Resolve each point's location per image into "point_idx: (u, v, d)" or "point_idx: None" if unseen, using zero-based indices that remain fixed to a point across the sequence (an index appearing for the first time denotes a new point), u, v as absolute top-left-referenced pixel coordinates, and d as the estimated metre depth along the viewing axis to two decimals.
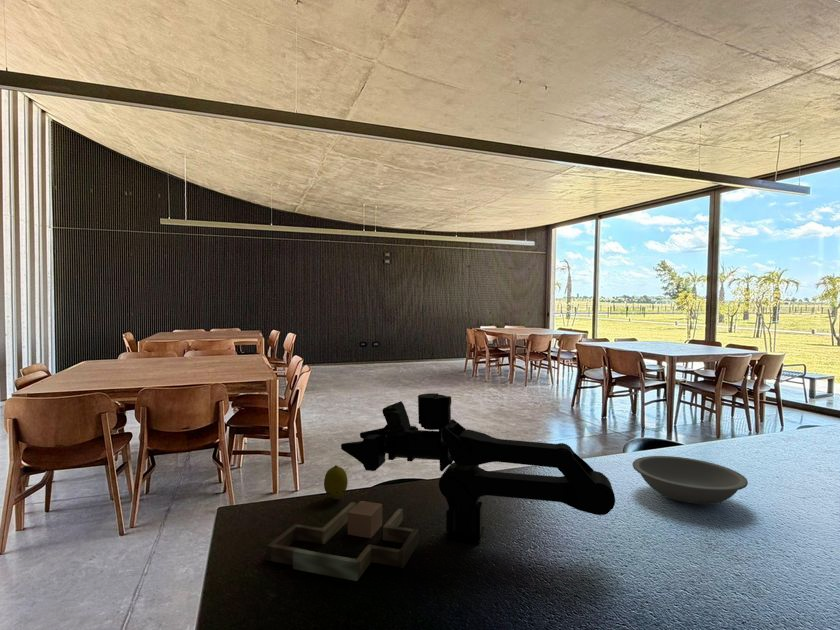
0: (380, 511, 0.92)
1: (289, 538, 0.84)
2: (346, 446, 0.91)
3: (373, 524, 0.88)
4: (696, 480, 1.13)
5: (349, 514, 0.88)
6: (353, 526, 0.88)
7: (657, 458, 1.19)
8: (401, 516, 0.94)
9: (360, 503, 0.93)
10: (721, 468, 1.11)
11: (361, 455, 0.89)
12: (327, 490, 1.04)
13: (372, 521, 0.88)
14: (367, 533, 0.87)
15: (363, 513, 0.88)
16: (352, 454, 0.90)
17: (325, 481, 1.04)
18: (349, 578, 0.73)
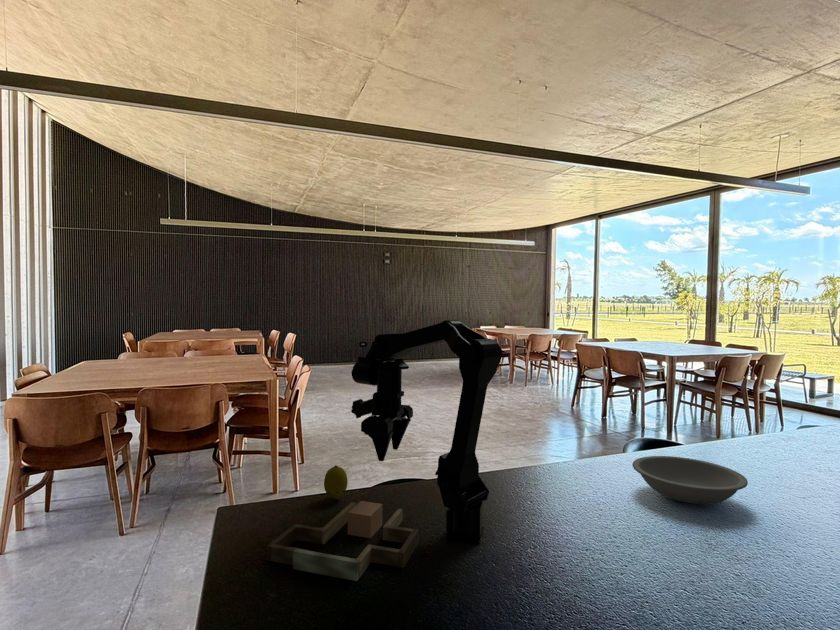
0: (380, 511, 0.92)
1: (289, 538, 0.84)
2: (379, 454, 0.98)
3: (373, 524, 0.88)
4: (696, 480, 1.13)
5: (349, 514, 0.88)
6: (352, 526, 0.88)
7: (657, 458, 1.19)
8: (401, 516, 0.94)
9: (360, 503, 0.93)
10: (721, 468, 1.11)
11: (383, 439, 0.97)
12: (327, 490, 1.04)
13: (372, 521, 0.88)
14: (367, 533, 0.87)
15: (363, 512, 0.88)
16: (384, 449, 0.97)
17: (325, 481, 1.04)
18: (349, 578, 0.73)
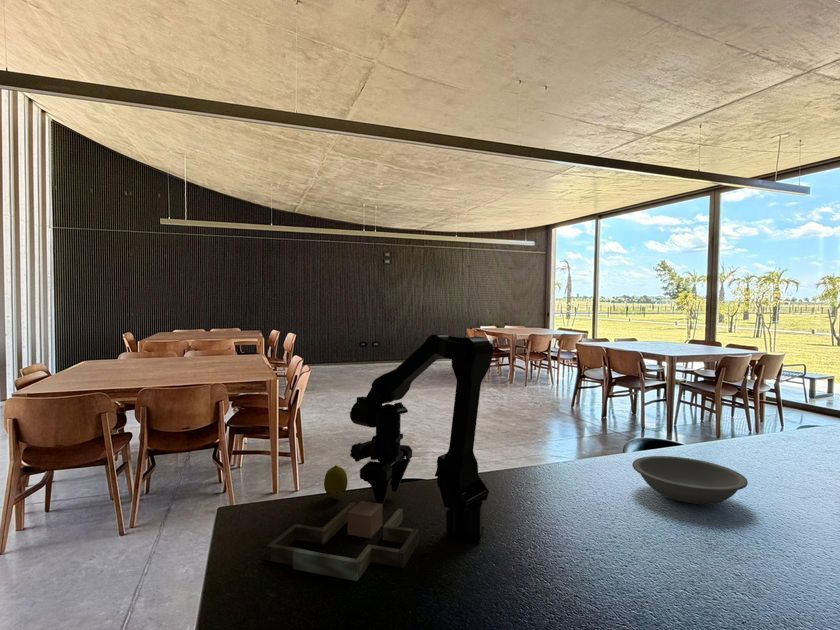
0: (380, 511, 0.92)
1: (289, 538, 0.84)
2: (378, 500, 0.98)
3: (373, 524, 0.88)
4: (695, 480, 1.13)
5: (349, 514, 0.88)
6: (352, 526, 0.88)
7: (657, 458, 1.19)
8: (401, 516, 0.94)
9: (360, 503, 0.93)
10: (721, 468, 1.11)
11: (382, 485, 0.97)
12: (327, 490, 1.04)
13: (372, 521, 0.88)
14: (367, 533, 0.87)
15: (362, 512, 0.88)
16: (383, 495, 0.97)
17: (325, 481, 1.04)
18: (349, 578, 0.73)
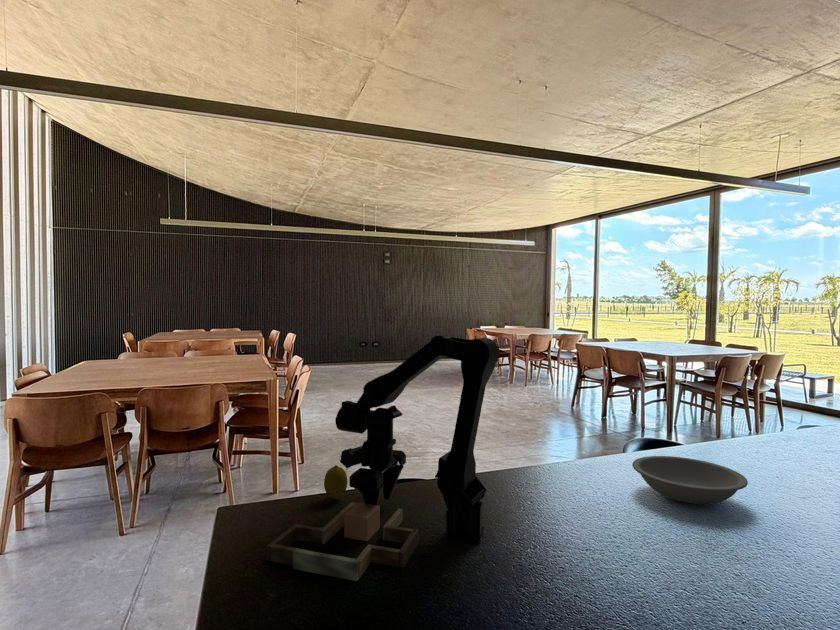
0: (377, 513, 0.90)
1: (289, 538, 0.84)
2: None
3: (370, 526, 0.87)
4: (695, 480, 1.13)
5: (346, 516, 0.87)
6: (349, 528, 0.87)
7: (657, 458, 1.19)
8: (401, 516, 0.94)
9: (357, 505, 0.92)
10: (721, 468, 1.11)
11: (373, 493, 0.92)
12: (327, 490, 1.04)
13: (369, 523, 0.86)
14: (364, 535, 0.86)
15: (359, 514, 0.87)
16: (374, 503, 0.92)
17: (325, 481, 1.04)
18: (349, 578, 0.73)
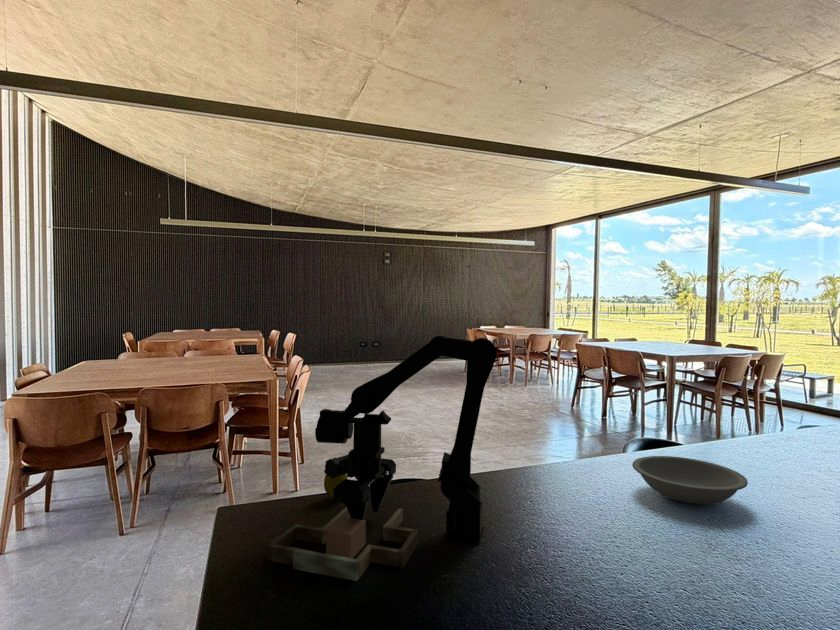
0: (363, 528, 0.84)
1: (289, 538, 0.84)
2: None
3: (354, 544, 0.80)
4: (695, 480, 1.13)
5: (328, 532, 0.80)
6: (331, 545, 0.80)
7: (657, 458, 1.19)
8: (401, 516, 0.94)
9: (341, 519, 0.85)
10: (721, 468, 1.11)
11: (359, 507, 0.85)
12: (327, 490, 1.04)
13: (352, 540, 0.80)
14: (347, 553, 0.79)
15: (343, 531, 0.80)
16: (360, 517, 0.86)
17: (325, 481, 1.04)
18: (349, 578, 0.73)
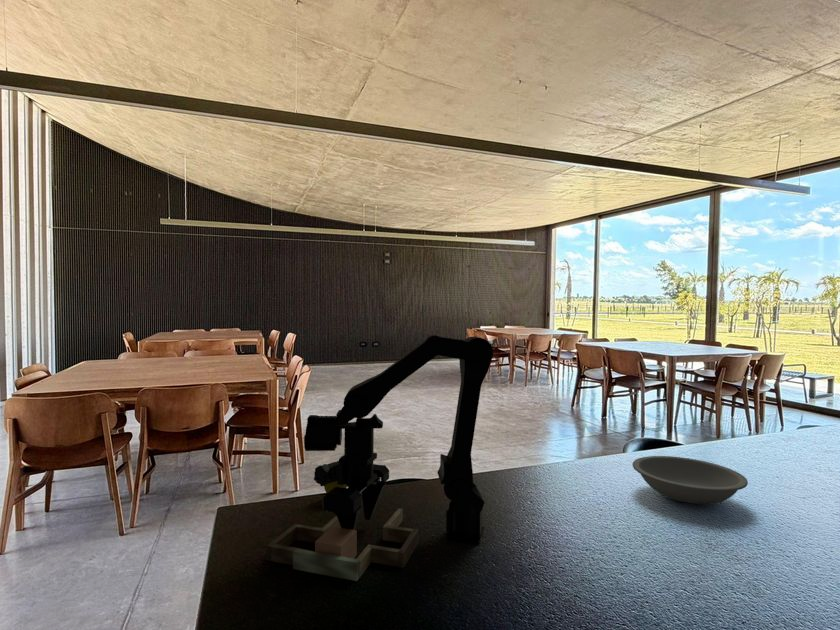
0: (354, 539, 0.80)
1: (289, 538, 0.84)
2: None
3: (344, 556, 0.76)
4: (696, 480, 1.13)
5: (316, 544, 0.76)
6: None
7: (657, 458, 1.19)
8: (401, 516, 0.94)
9: (331, 529, 0.81)
10: (721, 468, 1.11)
11: (350, 516, 0.81)
12: (327, 490, 1.04)
13: (343, 552, 0.76)
14: None
15: (332, 542, 0.76)
16: (351, 527, 0.82)
17: None
18: (349, 578, 0.73)
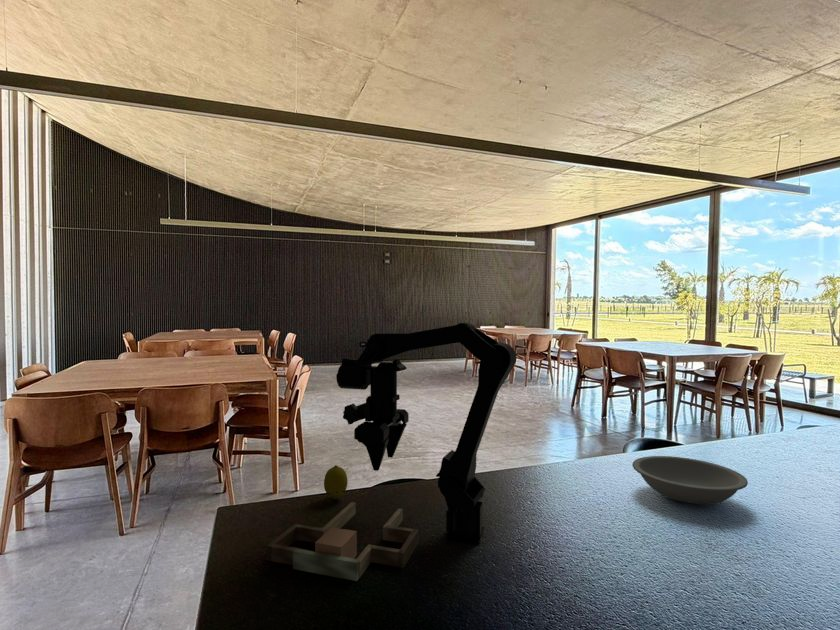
0: (354, 540, 0.80)
1: (289, 538, 0.84)
2: (374, 464, 0.91)
3: (344, 556, 0.76)
4: (695, 480, 1.13)
5: (317, 544, 0.76)
6: None
7: (657, 458, 1.19)
8: (401, 516, 0.94)
9: (331, 530, 0.81)
10: (721, 468, 1.11)
11: (378, 447, 0.90)
12: (327, 490, 1.04)
13: (343, 553, 0.76)
14: None
15: (332, 543, 0.76)
16: (379, 457, 0.90)
17: (325, 481, 1.04)
18: (349, 578, 0.73)
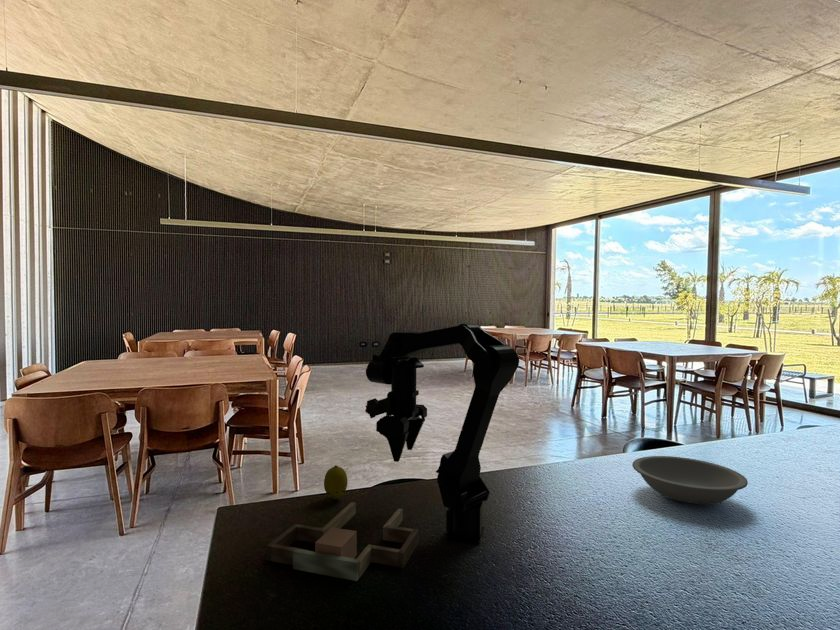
0: (354, 540, 0.80)
1: (289, 538, 0.84)
2: (394, 455, 0.96)
3: (344, 556, 0.76)
4: (695, 480, 1.13)
5: (316, 544, 0.76)
6: None
7: (657, 458, 1.19)
8: (401, 516, 0.94)
9: (331, 530, 0.81)
10: (721, 468, 1.11)
11: (399, 439, 0.95)
12: (327, 490, 1.04)
13: (343, 553, 0.76)
14: None
15: (332, 543, 0.76)
16: (399, 449, 0.95)
17: (325, 481, 1.04)
18: (349, 578, 0.73)
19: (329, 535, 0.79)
